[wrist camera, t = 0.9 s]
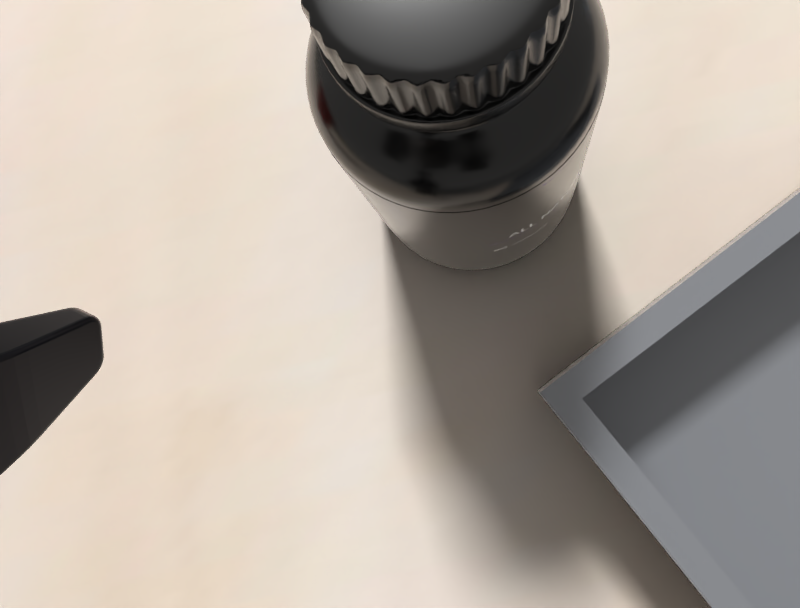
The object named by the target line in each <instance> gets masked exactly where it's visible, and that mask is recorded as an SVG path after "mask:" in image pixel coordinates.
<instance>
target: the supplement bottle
mask: <svg viewBox="0 0 800 608" xmlns="http://www.w3.org/2000/svg"><path fill="white" fill-rule="evenodd" d="M301 6H302V10H303V12H304V14H305V15H306V17H307V19H308V21H309V23H310V27H311V35H310V38H309V44H308V49H307V57H306V87H307V94H308V100H309V104H310V109H311V112H312V115H313V118H314V121H315V124H316V126H317V128H318V130H319V132H320V135H321V137H322V138H323V140H324V142H325V144H326V145H327V147H328V149H329V150H330V152H331V153H332V155H333V156H334V158H335V159H336V160H337V162H338V163H339V164H340V166H341V167H342V168H343V170H344V171H345V172H346V173H347V175H348V176H349V177H350V179H351V180H352V181H353V182H354V184H355V185H356V186H357V187H358V189H359V190H360V191H361V193H362V194H363V195H364V196H365V198H366V199H367V200H368V201H369V203H370V204H371V205H372V207H373V208H374V209H375V210H376V212H377V213H378V214H379V216H380V217H381V218H382V219H383V221H384V222H385V223H386V224H387V226H388V227H389V228H390V230H391V231H392V232H393V233H394V234H395V235H396V236H397V237H398V238H399V239H400V240H401V242H402V243H404V244H405V245H406V246H407V247H408V248H409V249H411V250H412V251H414V252H415V253H416V254H418V255H419V256H421V257H423V258H425V259H427V260H429V261H431V262H433V263H436V264H439V265H442V266H445V267H449V268H454V269H461V270H482V269H489V268H495V267H498V266H502V265H505V264H508V263H511V262H513V261H515V260H517V259H519V258H521V257H523V256H525V255H527V254H528V253H530V252H531V251H533V250H534V249H535V248H537V247H538V246H539V245H540V244H541V243H543V242H544V241H545V240H546V239H547V238H548V237H549V236H550V234H551V233H552V232H553V231H554V230H555V228H556V227H557V226H558V224H559V223H560V222H561V220H562V218H563V216H564V215H565V213H566V211H567V209H568V207H569V205H570V202H571V199H572V197H573V194H574V191H575V188H576V185H577V182H578V179H579V175H580V172H581V169H582V165H583V162H584V159H585V156H586V152H587V149H588V146H589V142H590V139H591V136H592V133H593V129H594V126H595V123H596V119H597V116H598V113H599V109H600V106H601V103H602V99H603V95H604V90H605V86H606V81H607V73H608V65H609V39H608V30H607V25H606V21H605V16H604V13H603V9H602V6H601V3H600V1H599V0H301Z"/></svg>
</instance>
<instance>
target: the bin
mask: <svg viewBox="0 0 800 608" xmlns="http://www.w3.org/2000/svg"><path fill="white" fill-rule="evenodd" d="M537 391H538V393H539V394H540V395H541V396H542V398H543V399H544V400H545V401H546V403H547V404H548V405H549V406H550V408H551V409H552V410H553V411H554V413H555V414H556V415H557V416H558V418H559V419H560V420H561V421H562V423H563V424H564V425H565V426H566V428H567V429H568V430H569V431H570V433H571V434H572V435H573V436H574V438H575V439H576V440H577V441H578V443H579V444H580V445H581V446H582V447H583V449H584V450H585V451H586V452H587V454H588V455H589V456H590V457H591V459H592V460H593V461H594V462H595V464H596V465H597V466H598V467H599V469H600V470H601V471H602V472H603V474H604V475H605V476H606V477H607V479H608V480H609V481H610V482H611V484H612V485H613V486H614V487H615V489H616V490H617V491H618V492H619V494H620V495H621V496H622V497H623V499H624V500H625V501H626V502H627V504H628V505H629V506H630V507H631V509H632V510H633V511H634V512H635V514H636V515H637V516H638V517H639V519H640V520H641V521H642V522H643V524H644V525H645V526H646V527H647V529H648V530H649V531H650V532H651V534H652V535H653V536H654V537H655V538H656V540H657V541H658V542H659V543H660V545H661V546H662V547H663V548H664V550H665V551H666V552H667V553H668V555H669V556H670V557H671V558H672V560H673V561H674V562H675V563H676V565H677V566H678V567H679V568H680V570H681V571H682V572H683V573H684V575H685V576H686V577H687V578H688V580H689V581H690V582H691V583H692V585H693V586H694V587H695V588H696V590H697V591H698V592H699V593H700V595H701V596H702V597H703V598H704V600H705V601H706V602H707V603H708V605H709V606H710V607H711V608H800V188H799V189H797V190H796V191H795V192H793V193H792V194H791V195H790V196H788V197H787V198H786V199H784V200H783V201H782V202H781V203H779V204H778V205H777V206H775V207H774V208H773V209H771V210H770V211H769V212H768V213H766V214H765V215H764V216H762V217H761V218H760V219H759V220H757V221H756V222H755V223H753V224H752V225H751V226H749V227H748V228H747V229H746V230H744V231H743V232H742V233H740V234H739V235H738V236H736V237H735V238H734V239H733V240H731V241H730V242H729V243H727V244H726V245H725V246H724V247H722V248H721V249H720V250H718V251H717V252H716V253H714V254H713V255H712V256H711V257H709V258H708V259H707V260H705V261H704V262H703V263H702V264H700V265H699V266H698V267H696V268H695V269H694V270H692V271H691V272H690V273H689V274H687V275H686V276H685V277H683V278H682V279H681V280H679V281H678V282H677V283H676V284H674V285H673V286H672V287H670V288H669V289H668V290H667V291H665V292H664V293H663V294H661V295H660V296H659V297H657V298H656V299H655V300H654V301H652V302H651V303H650V304H648V305H647V306H646V307H645V308H643V309H642V310H641V311H639V312H638V313H637V314H635V315H634V316H633V317H632V318H630V319H629V320H628V321H626V322H625V323H624V324H622V325H621V326H620V327H619V328H617V329H616V330H615V331H613V332H612V333H611V334H610V335H608V336H607V337H606V338H604V339H603V340H602V341H600V342H599V343H598V344H597V345H595V346H594V347H593V348H591V349H590V350H589V351H588V352H586V353H585V354H584V355H582V356H581V357H580V358H578V359H577V360H576V361H575V362H573V363H572V364H571V365H569V366H568V367H567V368H565V369H564V370H563V371H562V372H560V373H559V374H558V375H556V376H555V377H554V378H553V379H551V380H550V381H549V382H547V383H546V384H545V385H543V386H542V387H541V388H540V389H538V390H537Z"/></svg>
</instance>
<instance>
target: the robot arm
mask: <svg viewBox="0 0 800 608" xmlns="http://www.w3.org/2000/svg"><path fill="white" fill-rule="evenodd" d="M103 358H104V354H103V342H102V330H101V323H100V321H99V319H98V318H97V317H95V316H93V315H91V314H89V313H87V312H85V311H83V310H81V309H78V308H67V309H62V310H57V311H53V312H48V313H43V314H39V315H34V316H29V317H25V318H20V319H15V320H11V321H6V322H1V323H0V475H1V474H2V473H3V472H4V471H5V470H6V469H7V468H9V467H10V466H11V465H12V464H13V463H14V462H15V461H16V460H17V459H18V458H19V457H20V456H21V455H22V454H23V453H24V452H25V451H27V450H28V449H29V448H30V447H31V446H32V445H33V443H34V442H35V441H36V440H37V439H38V438H39V437H40V436H41V435H42V434H43V433H44V432H45V431H46V429H47V428H48V427H49V426H50V425H51V424H52V423H53V422H54V420H55V419H56V418H57V417H58V416H59V415H60V414H61V413H62V411H63V410H64V409H65V408H66V407H67V406H68V405H69V404H70V402H71V401H72V400H73V399H74V398H75V397H76V396H77V395H78V393H79V392H80V391H81V390H82V389H83V388H84V387H85V386H86V385H87V383H88V382H89V381H90V380H91V379H92V378H93V377H94V376H95V374H96V373H97V372H98V370H99V369H100V367H101V365H102V363H103Z"/></svg>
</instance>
